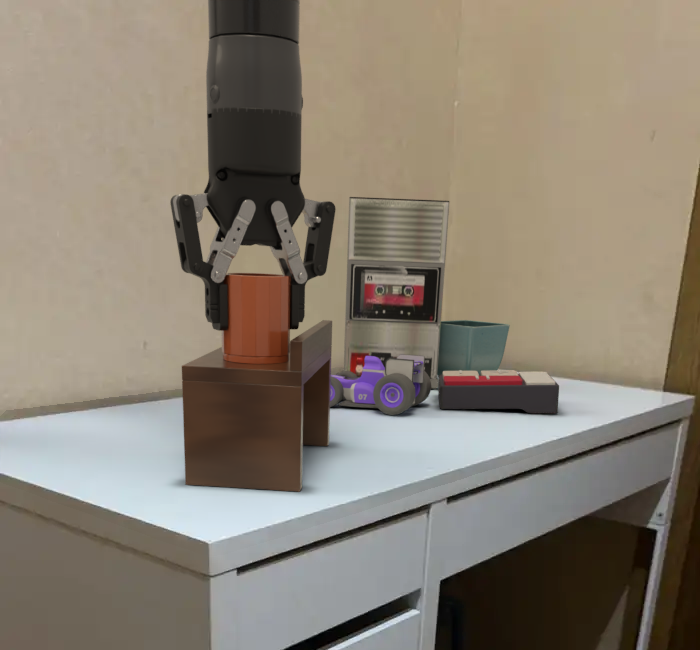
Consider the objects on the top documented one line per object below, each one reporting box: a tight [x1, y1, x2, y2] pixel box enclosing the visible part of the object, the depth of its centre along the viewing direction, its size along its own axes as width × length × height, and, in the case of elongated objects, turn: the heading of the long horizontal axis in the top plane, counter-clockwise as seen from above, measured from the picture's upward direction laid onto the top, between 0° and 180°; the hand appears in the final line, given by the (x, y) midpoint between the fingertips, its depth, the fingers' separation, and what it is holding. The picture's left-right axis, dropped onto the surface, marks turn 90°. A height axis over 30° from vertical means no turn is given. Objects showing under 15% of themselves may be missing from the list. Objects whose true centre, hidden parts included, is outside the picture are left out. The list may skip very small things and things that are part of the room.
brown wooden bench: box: [181, 319, 333, 492], centre depth 87 cm, size 10×20×12 cm, turn 174°
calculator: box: [437, 369, 560, 415], centre depth 124 cm, size 11×4×15 cm
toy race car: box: [330, 354, 432, 416], centre depth 119 cm, size 10×15×6 cm, turn 70°
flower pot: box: [437, 319, 511, 378], centre depth 139 cm, size 9×9×9 cm
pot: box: [221, 272, 291, 364], centre depth 81 cm, size 6×6×7 cm
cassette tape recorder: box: [343, 196, 450, 390], centre depth 133 cm, size 14×6×25 cm, turn 91°
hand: (255, 328), depth 81 cm, fingers closed on pot, 6 cm apart
